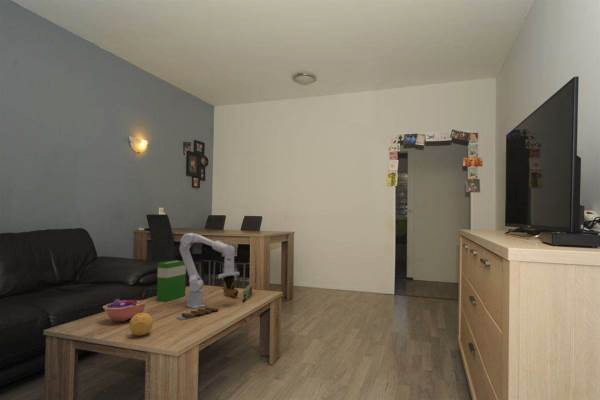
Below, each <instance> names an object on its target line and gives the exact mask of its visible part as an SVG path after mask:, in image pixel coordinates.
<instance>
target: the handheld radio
mask: <svg viewBox="0 0 600 400" xmlns="http://www.w3.org/2000/svg"><path fill="white" fill-rule="evenodd" d="M242 292H243V293H242V297H243V299H242V303H245V302H246V301H248V300H249V299H250V297H251V296H252V295H253V285H252V284H248V285H247V286H246V287H245V288H244V289H243V291H242Z"/></svg>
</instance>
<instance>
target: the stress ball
mask: <svg viewBox="0 0 600 400" xmlns="http://www.w3.org/2000/svg"><path fill="white" fill-rule="evenodd" d="M153 326H154V319H153V317H152V316H151V315H150V314H149V313H147V312H144V311H143V312H141V313H137V314H136V315H135V316H133V317H132V318H131V319H129V322H128V327H129V330H130V332H131V333H132V334H133V335H134V336H140V337H141V336H145V335H147V334H148V333H149V332H150V331H151V330H152V328H153Z"/></svg>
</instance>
